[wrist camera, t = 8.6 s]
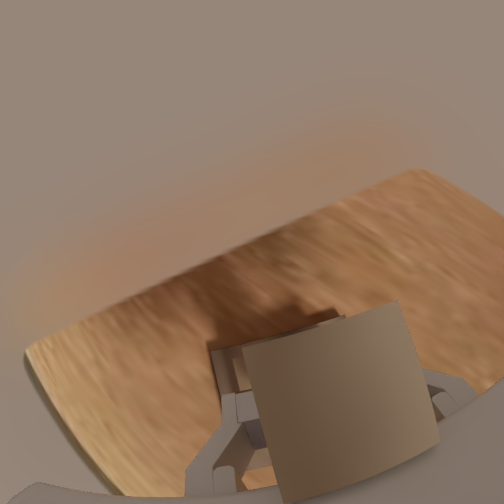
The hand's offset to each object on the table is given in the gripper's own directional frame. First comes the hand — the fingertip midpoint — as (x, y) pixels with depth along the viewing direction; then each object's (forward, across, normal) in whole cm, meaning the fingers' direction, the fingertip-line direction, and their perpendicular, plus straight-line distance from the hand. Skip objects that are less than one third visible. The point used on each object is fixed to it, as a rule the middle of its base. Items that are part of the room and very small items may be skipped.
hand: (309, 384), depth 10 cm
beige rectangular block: (+4, 0, +5) cm, 7 cm away
